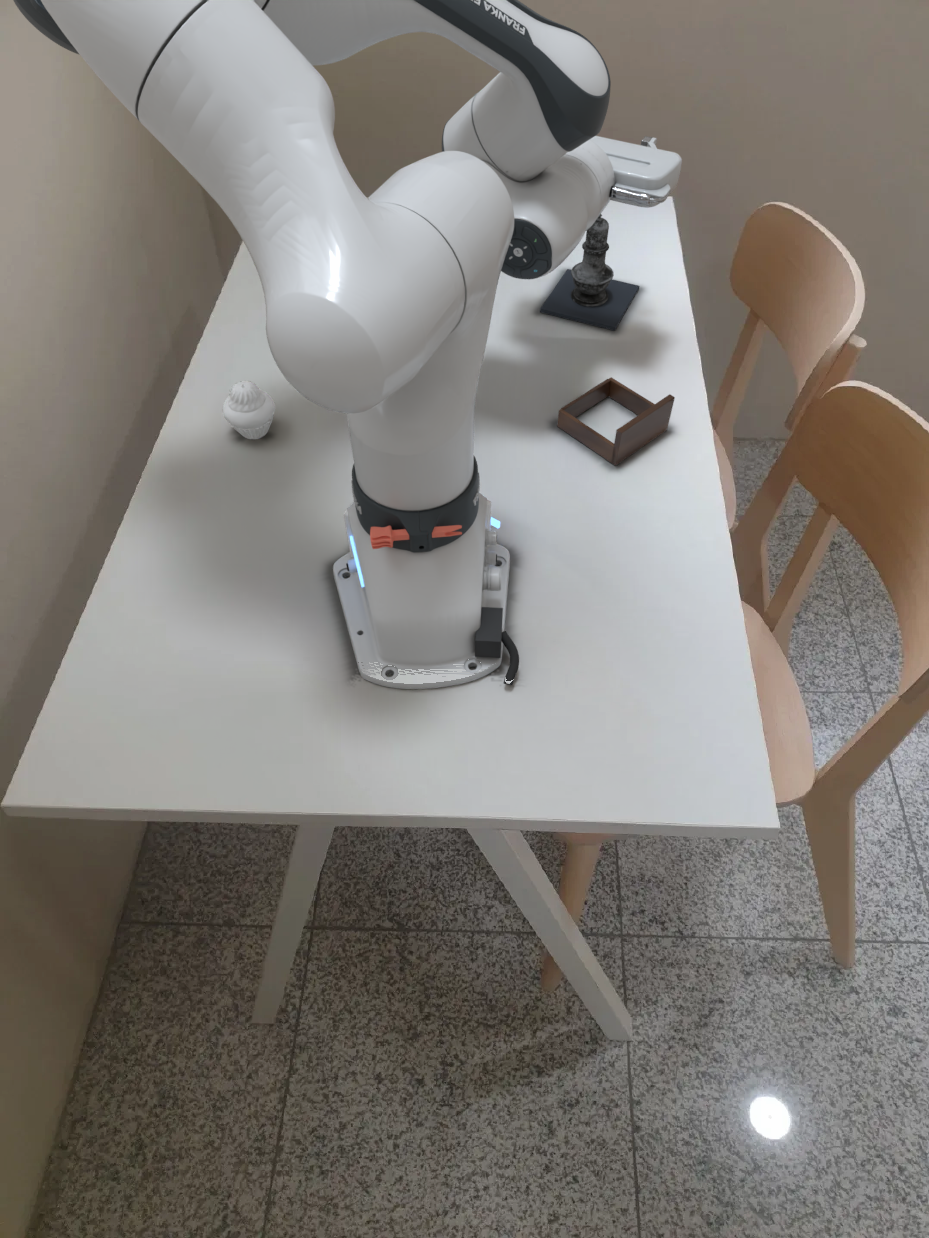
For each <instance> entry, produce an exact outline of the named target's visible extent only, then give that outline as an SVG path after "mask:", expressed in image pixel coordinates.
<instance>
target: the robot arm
mask: <svg viewBox="0 0 929 1238" xmlns="http://www.w3.org/2000/svg"><path fill="white" fill-rule="evenodd" d="M12 1H13V3H14V5H15V6H16V7H17V9H18V11H19V12H20V13H21V15H23V17H24V18H25V19H26V20H27V21H28V22H29V23H30V24H31V25H32V26H33V27H34V28H35V29H36V30H38V32H40V33H41V34H42V35H43V36H45V37H46V38H47V39H49V40H50V41H52V43H55V44H56V45H58V46H60V47H61V48H63V49H66V50H67V51H70V52H72V53H74V54H76V55H78V56H79V55H80V57H81V58H82V59H83V61H84V62H85V63H86V64H87V66H88V67H89V68H90V69H91V70H92V71H93V73H94V74H95V75H96V77H97V78H99V80H101V83H103V84H104V86H105V87H106V88H107V89H108V90H109V91H110V92H111V93H112V94H113V96H114V97H115V98H116V100H118V101H119V102H120V103H121V104H122V106H124V108H125V109H127V111H128V112H129V113H130V114H132V116H133V117H134V118H135V119H136V120H137V121H138V122H139V123H140V124H141V125H142V126H143V127H144V128H145V129H146V130H147V131H148V132H149V133H150V134H151V135H152V136H153V137H154V138H155V139H156V140H157V141H158V142H159V143H160V144H161V145H162V146H163V147H164V148H165V149H166V150H167V151H168V152H169V153H170V155H172V157H173V158H174V159H175V160H176V161H178V163H179V164H180V165H181V166H182V167H183V168H184V169H185V170H186V171H187V172H188V174H190V175H191V176H192V178H194V180H195V181H196V182H197V183H198V184H199V185H200V186H201V187H202V188H203V190H205V192H206V193H207V194H208V195H209V196H210V197H211V198H212V200H213V201H214V202H215V203H216V204H217V205H218V207H220V209H221V210H222V211H223V213H224V214H225V215H226V216H227V218H228V219H229V221H230V222H231V223H232V225H233V227H234V228H235V230H236V231H237V233H238V235H239V236H240V239H241V240H242V242H243V244H244V245H245V248H246V249H247V252H248V253H249V256H250V258H251V260H252V262H253V264H254V267H255V269H256V272H257V274H258V277H259V280H260V284H261V287H262V291H263V296H264V303H265V334H266V340H267V344H268V347H269V351H270V353H271V356H272V359H273V361H274V363H275V365H276V367H277V368H278V370H279V372H280V373H281V374H282V376H283V378H284V379H285V380H286V381H287V383H289V385H290V386H291V387H292V388H293V389H294V390H295V391H297V392H298V394H300V395H301V396H302V397H304V398H305V399H307V400H308V401H310V402H311V403H313V404H315V405H317V406H319V407H321V408H324V409H326V410H328V411H329V410H330V411H332V412H336V413H342V414H346V419H347V427H348V432H349V433H348V434H349V439H350V446H351V452H352V453H351V454H352V459H353V464H352V469H351V492H352V498H353V502H352V503H351V504H350V505H349V506H348V507H347V508H346V510H345V511H344V512H343V519H344V524H345V530H346V537H347V542H348V548H349V552H347V553H346V554H344V555H342V556H341V557H339V558H338V559H336V560H335V562H334V563H333V566H332V569H333V570H332V573H333V578H334V583H335V586H336V591H337V595H338V598H339V601H340V604H341V609H342V612H343V613H342V614H343V616H344V621H345V623H346V627H347V628H346V629H347V631H348V636H349V639H350V642H351V643H350V644H351V646H352V649H353V653H354V657H355V661H356V664H357V668H358V672H359V675H360V677H361V678H362V679H364V680H366V681H368V682H370V683H372V684H375V685H379V686H382V687H386V688H392V689H401V690H423V689H436V688H445V687H451V686H457V685H463V684H466V683H469V682H472V681H476V680H478V679H481V678H484V677H485V676H487V675H489V674H491V673H492V672H494V671H495V670H497V669H498V668H499V667H500V666H501V665H502V661H503V652H504V647H505V648H506V650H507V653H508V655H509V665H508V668H507V671H506V673H505V676H504V680H503V684H504V685H507V686H513V685H514V681H515V678H516V676H517V673H518V670H519V666H520V655H519V650H518V647H517V646H516V644H515V642H514V640H513V639H512V638H511V637H510V635H509V633H508V632H507V631H506V630H505V627H506V617H507V615H506V614H507V606H508V605H507V604H508V592H509V581H510V568H511V555H510V551H509V550H508V549H507V548H506V547H505V546H503V545H501V544H499V543H497V542H498V531H496V530H492V526H493V527H494V528H496V529H500V527H501V521H500V520H498V519H496V518H494V517H493V516H492V501H491V500H489V499H488V498H487V497H486V496H485V495H483V494H482V493H481V492H480V491H481V490H480V488H481V487H480V486H481V483H480V472H479V467H478V461H477V458H476V456H475V408H476V399H477V398H476V397H477V390H478V385H479V379H480V375H481V374H480V373H481V369H482V366H483V361H484V357H485V351H486V346H487V343H488V337H489V333H490V326H491V321H492V316H493V310H494V305H495V304H494V303H495V300H496V299H495V298H496V294H497V290H498V284H499V281H500V276H501V273H503V274H505V275H507V276H509V277H511V278H513V279H519V280H535V279H539V278H543V277H545V276H547V275H548V274H550V273H552V272H553V271H554V270H556V269H557V268H558V267H559V266H561V265H562V264H563V262H565V260H567V258H568V257H569V256H570V255H571V254H572V253H573V251H574V250H575V249H576V248H577V246H578V245H579V244H580V242H581V241H582V239H583V238H584V236H585V234H586V232H587V230H588V229H589V228H590V227H591V226H592V225H593V223H594V222H595V221H596V219H597V218H598V217H599V215H600V214H601V215H602V213H603V212H604V210H605V209H606V208H607V206H608V205H609V203H610V202H617V203H621V204H626V205H628V206H629V205H630V206H635V207H639V208H647V209H648V208H653V207H656V206H658V205H660V204H662V203H664V202H665V201H666V200H667V199H668V197H669V196H670V195H672V193H674V191H675V190H676V188H677V187H678V185H679V181H680V174H681V173H682V172H681V170H682V165H683V159H682V157H681V155H680V154H679V153H677V152H675V151H671V150H670V151H669V150H665V149H661V148H658V147H657V142H658V138H657V137H653V136H647V135H644V137H643V138H642V139H641V141H640V144H636V143H632V142H627V141H622V140H618V139H613V138H609V137H604V136H599V134H600V132H601V131H602V129H603V127H604V123H605V120H606V117H607V113H608V110H609V105H610V99H611V87H612V86H611V83H612V82H611V76H610V75H611V74H610V71H609V68H608V65H607V64H606V61H605V60H604V58H603V56H602V54H601V52H600V51H599V50H598V49H597V47H596V46H595V45H594V44H593V43H592V42H591V41H590V40H589V38H587V37H586V36H585V35H583V34H582V33H580V32H579V31H577V30H575V29H573V28H570V27H569V26H567V25H564V24H561V23H559V22H556V21H553V20H552V19H549V18H548V17H545V16H544V15H541V14H540V13H538V12H537V11H535V10H533V9H531V8H530V7H529V6H527V5H526V4H524V3H523V2H521V1H520V0H12ZM413 33H427V34H428V33H429V34H434V35H437V36H440V37H443V38H445V39H447V40H449V41H450V42H451V43H453V44H455V45H457V46H458V47H460V48H461V49H463V50H465V51H466V52H467V53H469V54H471V55H472V56H474V57H476V58H478V59H479V60H481V61H482V62H484V63H485V64H487V65H488V66H490V67H492V68H493V69H495V70H497V71H498V73H497V74H496V75H495V76H494V77H493V78H492V79H491V80H490V81H489V82H488V83H487V84H486V85H485V86H484V87H483V88H481V89H480V90H479V91H478V92H477V93H474V95H473V96H471V98H470V99H469V100H468V101H467V102H466V103H465V104H464V105H463V106H461V108H460V109H458V110H457V111H456V112H455V113H454V114H453V116H451V118H449V119H448V120H447V121H446V122H445V124H444V127H443V130H442V134H441V135H442V136H441V151H440V152H437V153H434V154H432V155H429V156H427V157H424V158H421V159H419V160H417V161H414V162H412V163H411V164H408V165H405V166H403V167H402V168H400V169H398V170H396V172H394V173H393V174H392V175H391V176H390V177H388V178H387V180H385V181H384V182H383V183H382V184H381V185H380V186H379V187H378V188H377V189H375V190H374V191H373V192H372V193H371V194H370V195H369V196H368V197H367V196H366V195H365V194H364V193H363V192H362V190H361V189H360V187H359V186H358V185H357V183H356V181H355V180H354V178H353V176H352V175H351V173H350V172H349V169H348V168H347V166H346V164H345V162H344V160H343V158H342V156H341V154H340V151H339V149H338V146H337V143H336V140H335V135H334V129H335V123H336V107H335V100H334V96H333V94H332V91H331V89H330V86H329V85H328V82H327V81H326V80H325V78H324V76H323V75H322V74H321V73H320V72H319V71H318V70H317V69H316V68H315V66H323V65H330V64H335V63H337V62H341V61H344V60H346V59H348V58H351V57H353V56H354V55H356V54H358V53H359V52H361V51H363V50H365V49H367V48H370V47H372V46H374V45H376V44H378V43H381V42H382V41H383V42H384V41H386V40H389V39H392V38H395V37H399V36H402V35H405V34H406V35H407V34H413ZM468 659H469V660H468ZM358 662H359V663H358ZM361 662H363V663H361ZM369 662H370V663H373V664H369ZM374 662H378V663H374ZM480 662H481V663H480ZM365 663H366V664H368V665H366V664H365ZM380 663H381V664H383V665H380ZM495 663H496V664H495ZM374 664H376V665H379V666H375V665H374ZM453 664H464V665H453ZM492 664H494V665H492ZM362 665H364V666H362ZM370 665H371V666H374V667H371V666H370ZM388 665H392V666H388ZM381 666H382V667H381ZM394 666H395V667H394ZM456 666H463V667H456ZM490 666H491V667H490ZM367 667H369V668H367ZM376 667H377V668H380V669H382V671H381V676H382V677H383V678H384V679H386V680H393V679H395V678H396V677H397V676H398V674H399V673H398V669H401V670H405V669H412V670H416V671H419V670H418V669H424V670H430V669H465V670H466V671H462V672H470V673H435V672H430V671H444V672H453V671H448V670H430V671H421V672H414V673H418V674H423V673H422V672H426V673H433V674H437V675H438V674H474V673H477V674H475V675H472V676H469V677H465V678H461V679H456V680H451V681H444V682H436V683H423V684H404V683H393V682H387V681H383V680H379V679H376V678H373V677H370V676H368V675H371V674H374V675H376V674H375V673H371V674H368V675H366V673H365V674H364V673H363V672H362V671H361V669H363V668H365V669H367V670H368V669H375V670H378V669H377V668H376ZM488 667H490V668H488ZM470 668H475V669H470ZM480 669H486V670H484V671H482V670H481V671H482V672H480V673H479V672H478V671H479V670H480ZM363 671H365V670H363ZM370 671H373V672H374V670H370ZM378 671H379V670H378ZM405 671H409V672H412V671H411V670H405ZM366 672H368V671H366ZM399 672H403V673H405V672H404V671H399ZM454 672H457V671H454ZM368 673H370V672H368ZM376 673H379V674H380V672H376ZM414 673H407V674H411V675H415V674H414ZM388 675H392V676H388ZM400 675H406V674H400ZM424 675H431V674H424ZM442 677H446V676H442ZM505 677H506V679H507V680H506V681H511V680H513V679H514V680H513V681H512V682H511V683H510V684H506V682H505Z"/></svg>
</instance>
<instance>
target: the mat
mask: <svg viewBox="0 0 929 1238" xmlns="http://www.w3.org/2000/svg"><path fill="white" fill-rule="evenodd" d="M571 270H572V269H569V268H567V269H565V272H564V273H563V275H562V276H561V278H560V279H559V281H558V282H557V283H556V284H555V286H554V287H553V289H552V290H551V292H550V294H549V295H548V296H547V297H546V300H545V301H544V302H543V303H542V305H541V307H540V308H539V313H542V314H546V315H550V316H554V317H558V318H561V319H565V320H570V321H574V322H577V323H582V324H586V325H589V326H594V327H598V328H602V329H605V330H609V331H616V329H617V328H618V327H619V324H620V323H621V321H622V319H623V317H624V316H625V314H626V312H627V310H628V308H629V307H630V306H631V303H632V302H633V300H634V299H635V297H636V295H637V294H638V292H639V290H640V285H638V284H634V283H630V282H624V281H620V280H617V279H613V278H612V279H611V280H610V283H609V285H608V287H607V288H606V289H605V291H607V293H608V300H607V301H606V302H605V303H604V304H602V305H599V306H594V307H587V306H582V305H579V304H577V303H576V302H574V301H573V300H572V298H571V292H572V290H573V289H574V288H576V287H575V285H574V282H573V277H572V275H571Z"/></svg>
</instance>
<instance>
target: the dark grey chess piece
mask: <svg viewBox="0 0 929 1238" xmlns="http://www.w3.org/2000/svg"><path fill="white" fill-rule="evenodd" d="M602 216H603V215H602V213H601V214H600V215H599V217H598V218H597V219H596V221H595V222H594V223H593V225H592V226H591V227H590V228H589V229H588V230H587V231H585V241H583V242H582V245H581V248H582V250H583V255H582V261H580V262H578V263H577V264H575V265H573V266H572V268H571V269H570V270H571V275H572V277H573V282H574V285H575V287H576V288H574V289H573V290H572V292H571V298H572V300H573V301H574V302H576V303H577V304H579V305H582V306H587V307H594V306H599V305H602V304H604V303H605V302H606V301H607V300H608V293H607V291H605V289H606V288H607V287H608V285H609V283H610V280H611V279H612V280H613V278H614V275H615V274H614V270H613V269H612V267H610V265H608V264H606V257H607V252H608V251H609V249H610V245H609V243H608V237H609V230H610V223H609V222H608V220H607V219H605V218H604V217H602Z"/></svg>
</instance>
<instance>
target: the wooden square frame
mask: <svg viewBox="0 0 929 1238" xmlns="http://www.w3.org/2000/svg"><path fill="white" fill-rule="evenodd" d="M608 397H609V398H610V399H611V400H613V401H615V402H617V403H618V404H620V405H621V406H623V407H624V408H626V409H628V410H629V411H631V412H633V413H634V414H635V415H637V416H635V417H633V418H632V419H630V420H629V421H627V422H626V423H624V424H623V425H622V426H620V427H618V428H617V429H616V431H615V436H614V441H611V440H610V439H608V438H607V437H605V436H604V435H602V434H601V433H599V432H598V431H597V430H594V429H593V428H592V427H590V426H588V425H587V424H585V423H584V422H582V421H581V420H579V419H578V418H577V417H579V416H580V415H581V414H583V413H584V412H585V413H586V411H588V410H589V409H591V408H592V407H594V406H596V405H597V404H599V403H600V402H601V401H603V400H605V399H606V398H608ZM675 398H676V397H675V396H674V395H672V394H670V393H669V394H667V395H666V396H664V397H663V398H662V399H660V400H658V401H657V402H655V403H653V402H652V401H650V400H649V399H648V398H646V397H644V396H642V395H641V394H639V393H638V392H636V391H634V390H633V389H631V388H630V387H628V386H626V385H624V384H623V383H622V382H620V381H618V380H616V379H615V378H614V377H609V378H606V379H605V380H603V381H602V382H600V383H599V384H597V385H595V386H594V387H592V388H591V389H589V390H587V391H586V392H584V393H583V394H580V395H579V396H577V397H576V398H574V399H573V400H572V401H570V402H568V403H567V404H565V405H563V406H562V407H560V408H559V409H558V415H557V424H556V426H557V427H558V428H559V429H560V430H561V431H563V432H565V433H567V434H568V435H569V436H571V437H572V438H573V439H575V440H576V441H578V442H579V443H581V444H583V445H584V446H586V448H588V449H590V450H591V451H593V452H594V453H596V454H597V455H599V456H600V457H602V458H603V459H605V460H606V461H608V462H609V463H611V464H612V465H613V466H616V467H617V466H618V465H619V464H620V463H622V462H624V461H625V460H627V459H628V458H629V457H631V456H632V455H633V454H635V453H637V452H638V451H639V450H640V449H642V448H644V447H645V446H646V445H648V444H649V443H651V442H652V441H653V440H655V439H656V438H658V437H659V436H661V435H662V434H663V433H665V432H667V431H668V428H669V423H670V420H671V415H672V411H673V406H674V402H675Z"/></svg>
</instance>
